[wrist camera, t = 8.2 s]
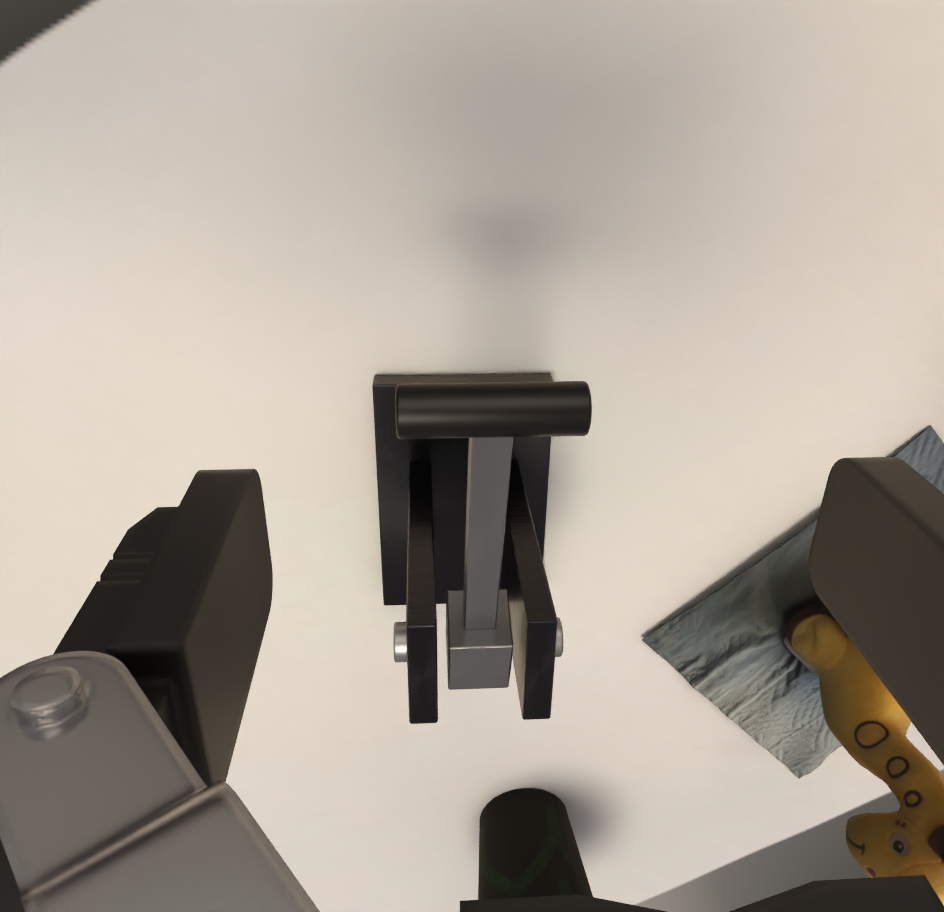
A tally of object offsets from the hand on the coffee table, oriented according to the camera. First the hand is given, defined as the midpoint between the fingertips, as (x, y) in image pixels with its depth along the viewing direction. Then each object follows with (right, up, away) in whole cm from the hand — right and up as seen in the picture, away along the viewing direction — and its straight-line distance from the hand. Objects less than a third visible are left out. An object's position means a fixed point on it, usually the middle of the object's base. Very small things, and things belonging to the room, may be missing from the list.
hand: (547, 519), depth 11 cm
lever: (-1, -1, +14) cm, 14 cm away
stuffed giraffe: (+20, -8, +33) cm, 39 cm away
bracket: (-2, -1, +27) cm, 27 cm away
